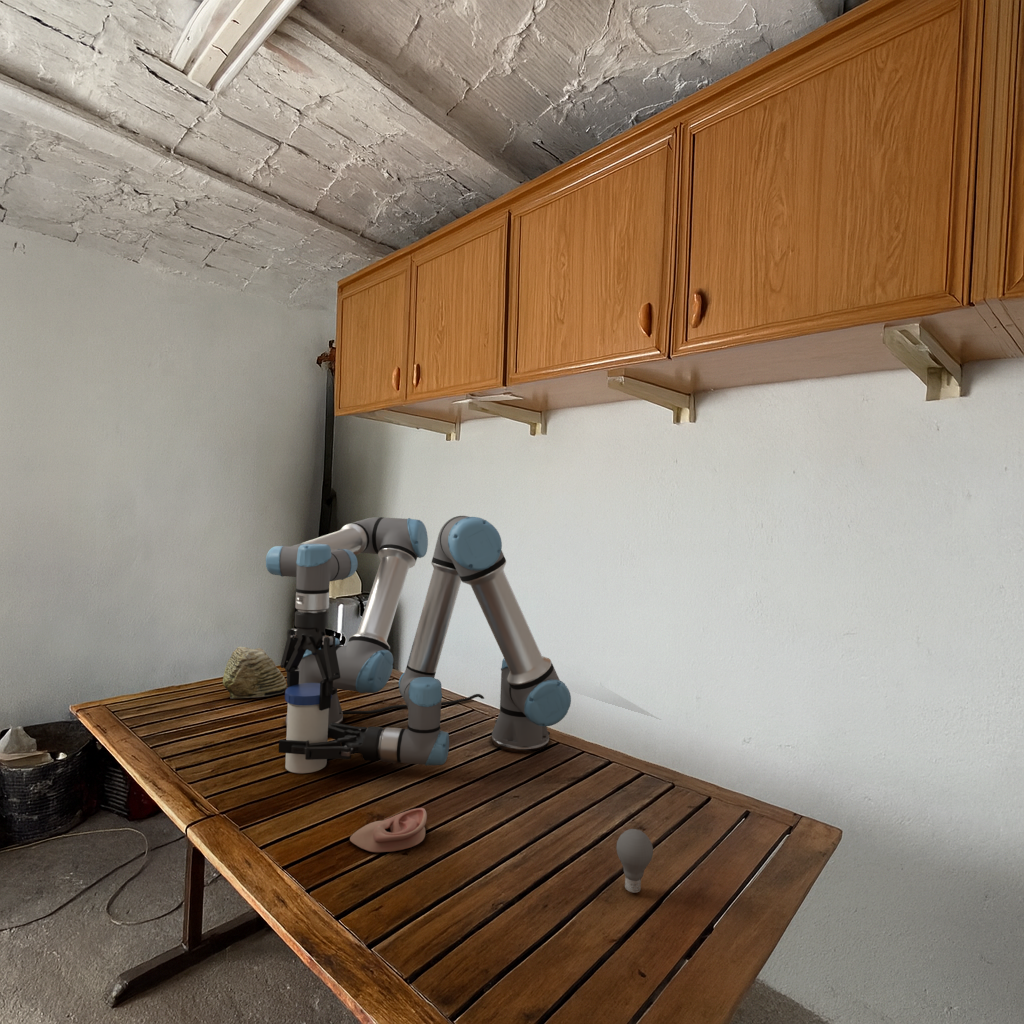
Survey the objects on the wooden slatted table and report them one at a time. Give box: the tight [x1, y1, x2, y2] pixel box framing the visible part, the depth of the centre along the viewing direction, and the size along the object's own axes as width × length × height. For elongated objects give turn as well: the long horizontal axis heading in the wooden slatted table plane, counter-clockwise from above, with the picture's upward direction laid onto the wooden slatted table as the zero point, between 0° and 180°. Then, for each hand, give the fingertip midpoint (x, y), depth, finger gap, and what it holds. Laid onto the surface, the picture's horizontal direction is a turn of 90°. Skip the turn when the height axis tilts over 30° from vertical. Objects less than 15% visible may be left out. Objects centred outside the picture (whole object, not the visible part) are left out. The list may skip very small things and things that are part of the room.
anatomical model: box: [349, 807, 428, 853], centre depth 119 cm, size 13×4×12 cm
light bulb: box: [615, 828, 654, 894], centre depth 106 cm, size 6×6×10 cm
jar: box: [284, 703, 329, 774], centre depth 149 cm, size 9×9×17 cm
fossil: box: [222, 646, 287, 699], centre depth 198 cm, size 9×18×15 cm, turn 132°
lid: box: [284, 683, 332, 705], centre depth 149 cm, size 11×11×2 cm
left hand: (308, 703), depth 149 cm, fingers closed on lid, 10 cm apart
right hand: (288, 737), depth 149 cm, fingers closed on jar, 9 cm apart
